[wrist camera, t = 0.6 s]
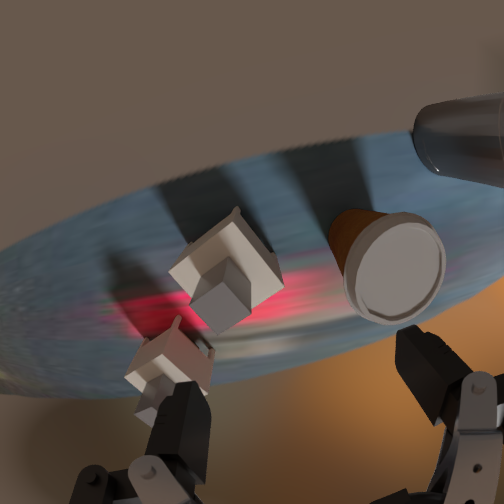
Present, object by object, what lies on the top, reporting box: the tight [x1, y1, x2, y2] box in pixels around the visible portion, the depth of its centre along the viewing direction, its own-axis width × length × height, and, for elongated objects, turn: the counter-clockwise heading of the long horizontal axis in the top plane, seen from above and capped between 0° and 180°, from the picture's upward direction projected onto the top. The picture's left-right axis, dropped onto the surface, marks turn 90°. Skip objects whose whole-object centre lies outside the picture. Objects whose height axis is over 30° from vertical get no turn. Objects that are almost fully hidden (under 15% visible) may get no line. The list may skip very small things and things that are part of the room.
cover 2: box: [168, 206, 285, 335], centre depth 25 cm, size 7×7×13 cm
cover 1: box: [124, 315, 215, 428], centre depth 29 cm, size 7×7×13 cm
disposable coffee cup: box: [328, 209, 446, 325], centre depth 25 cm, size 10×10×12 cm
